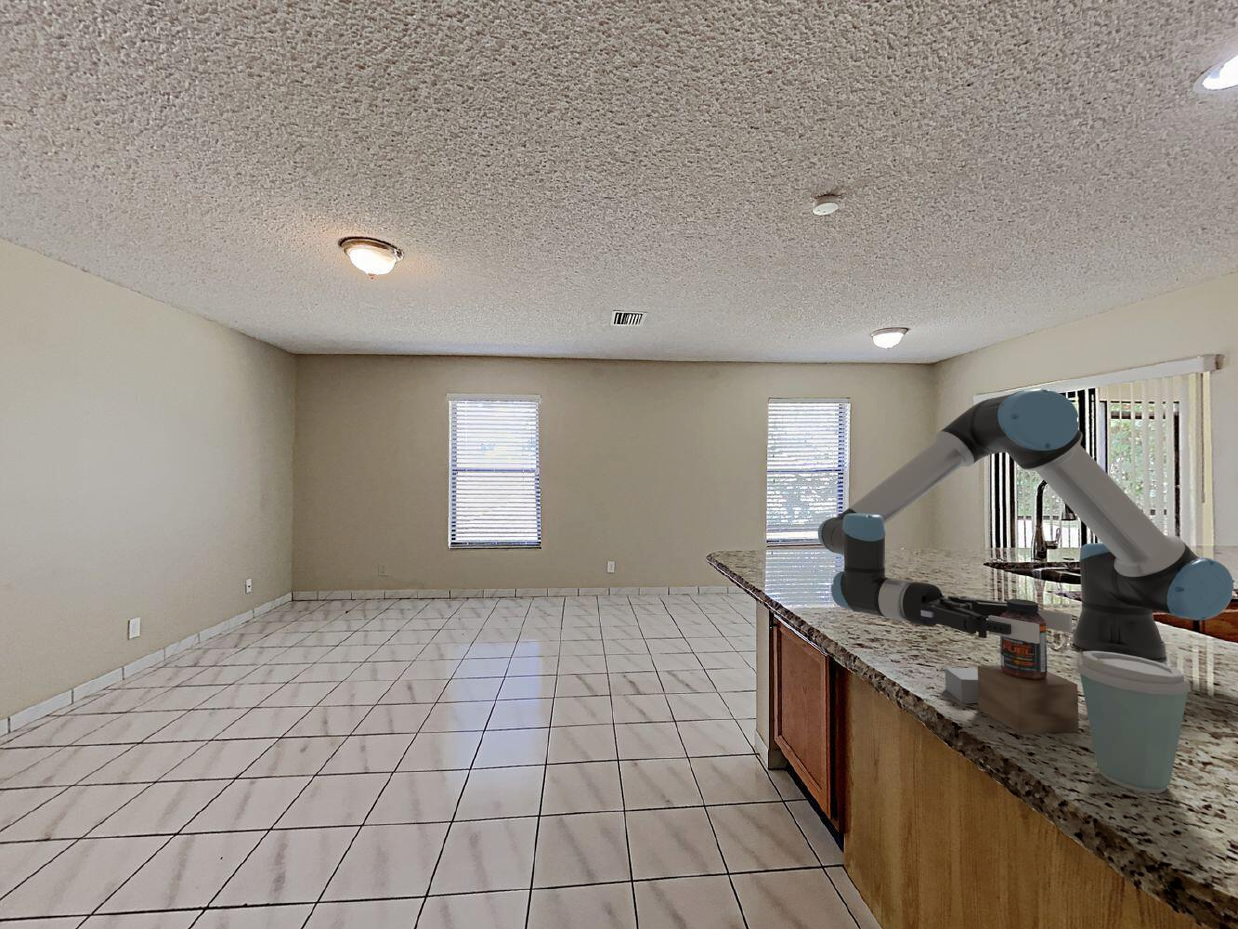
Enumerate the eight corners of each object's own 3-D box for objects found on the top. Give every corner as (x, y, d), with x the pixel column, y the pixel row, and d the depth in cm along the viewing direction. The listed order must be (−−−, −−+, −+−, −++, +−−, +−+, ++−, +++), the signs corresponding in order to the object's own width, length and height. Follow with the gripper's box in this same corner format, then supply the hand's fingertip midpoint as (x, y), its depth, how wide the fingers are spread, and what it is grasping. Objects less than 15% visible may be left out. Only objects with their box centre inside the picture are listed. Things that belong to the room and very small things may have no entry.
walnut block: (1032, 707, 93) (1031, 664, 93) (1079, 732, 84) (1077, 684, 84) (978, 709, 93) (977, 665, 93) (1019, 733, 84) (1017, 685, 84)
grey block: (981, 691, 101) (980, 668, 101) (1000, 704, 95) (999, 680, 95) (945, 690, 101) (945, 667, 102) (961, 703, 95) (961, 679, 96)
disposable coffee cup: (1128, 757, 76) (1124, 644, 77) (1223, 802, 65) (1217, 671, 66) (1057, 763, 75) (1053, 648, 75) (1141, 810, 64) (1137, 675, 65)
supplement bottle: (997, 675, 88) (995, 601, 89) (1004, 665, 93) (1002, 595, 93) (1045, 684, 84) (1042, 607, 84) (1050, 673, 88) (1047, 600, 89)
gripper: (947, 614, 110) (1088, 641, 91) (874, 632, 98) (1019, 667, 79) (946, 575, 110) (1086, 594, 91) (873, 588, 98) (1017, 613, 79)
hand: (1055, 628), depth 85 cm, fingers open, 10 cm apart
